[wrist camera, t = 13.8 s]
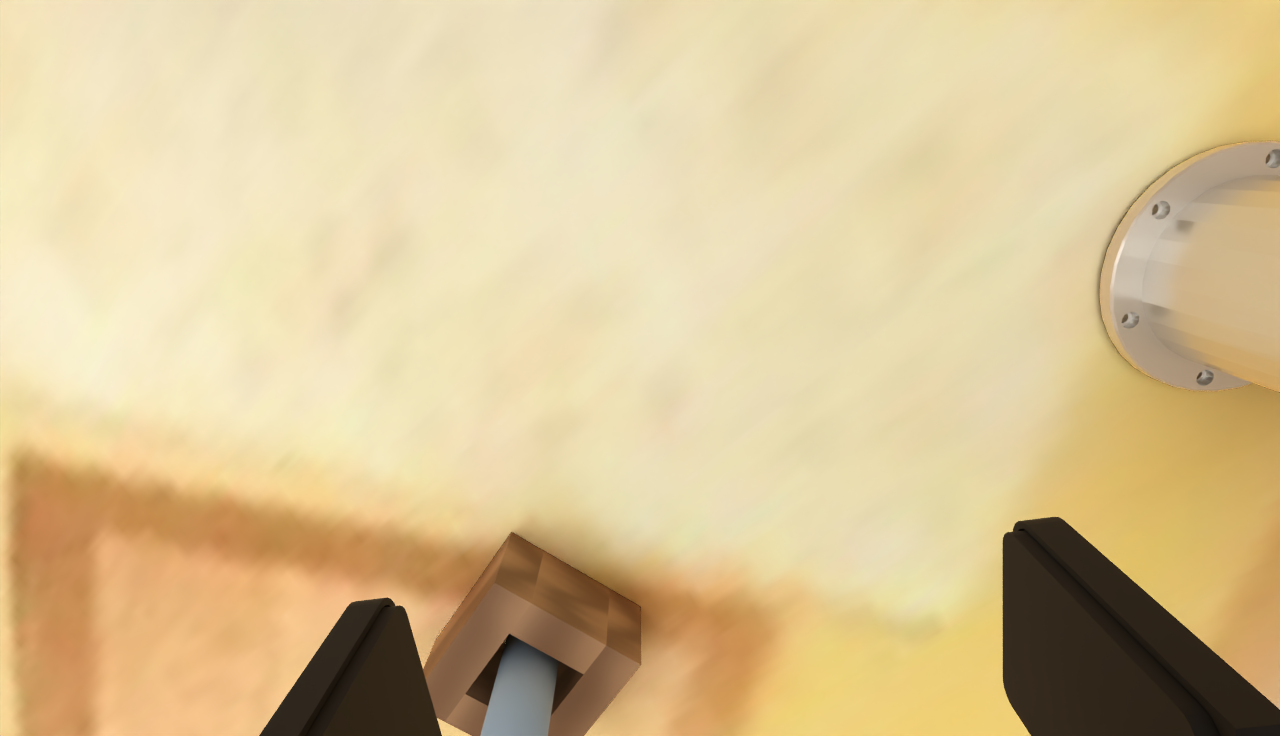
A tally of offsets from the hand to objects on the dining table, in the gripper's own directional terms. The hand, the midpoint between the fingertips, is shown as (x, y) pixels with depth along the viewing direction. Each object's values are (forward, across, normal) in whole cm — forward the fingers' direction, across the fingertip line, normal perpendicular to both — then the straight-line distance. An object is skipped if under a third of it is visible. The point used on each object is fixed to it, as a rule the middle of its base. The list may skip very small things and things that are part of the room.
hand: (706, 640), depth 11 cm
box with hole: (+26, +11, +18) cm, 34 cm away
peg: (+26, +10, +18) cm, 34 cm away
